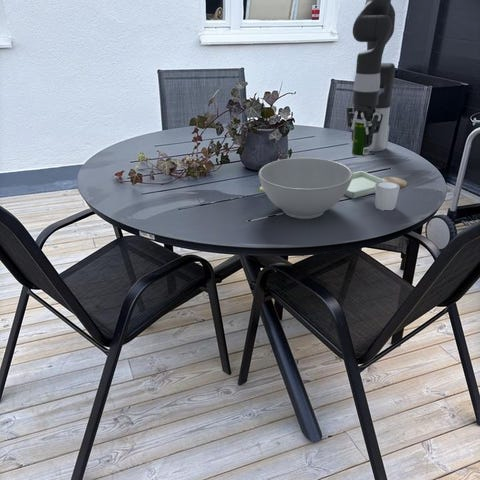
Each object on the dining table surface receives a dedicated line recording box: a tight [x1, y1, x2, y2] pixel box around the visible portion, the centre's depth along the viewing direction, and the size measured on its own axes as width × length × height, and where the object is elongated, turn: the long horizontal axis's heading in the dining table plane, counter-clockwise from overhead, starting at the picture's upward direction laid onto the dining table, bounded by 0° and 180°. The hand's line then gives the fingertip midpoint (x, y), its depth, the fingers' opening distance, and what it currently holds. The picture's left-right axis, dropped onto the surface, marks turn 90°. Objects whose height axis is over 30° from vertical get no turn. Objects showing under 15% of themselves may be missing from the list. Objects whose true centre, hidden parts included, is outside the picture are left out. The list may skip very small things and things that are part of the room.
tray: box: [343, 170, 386, 200], centre depth 153 cm, size 16×14×2 cm
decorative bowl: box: [258, 157, 353, 220], centre depth 135 cm, size 27×27×12 cm
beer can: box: [351, 118, 372, 159], centre depth 146 cm, size 5×5×12 cm
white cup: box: [374, 181, 401, 211], centre depth 137 cm, size 7×7×7 cm
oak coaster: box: [381, 176, 408, 189], centre depth 155 cm, size 9×9×1 cm
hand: (361, 143), depth 147 cm, fingers closed on beer can, 5 cm apart
